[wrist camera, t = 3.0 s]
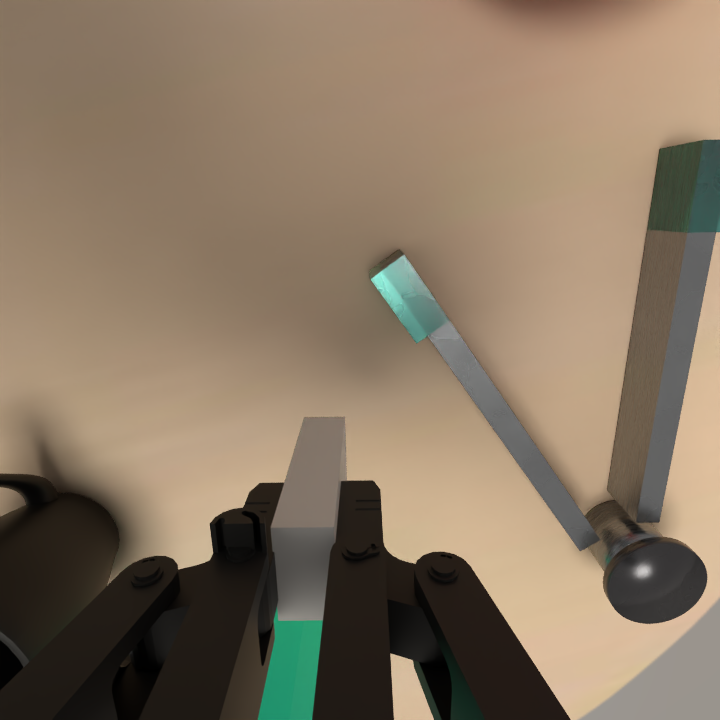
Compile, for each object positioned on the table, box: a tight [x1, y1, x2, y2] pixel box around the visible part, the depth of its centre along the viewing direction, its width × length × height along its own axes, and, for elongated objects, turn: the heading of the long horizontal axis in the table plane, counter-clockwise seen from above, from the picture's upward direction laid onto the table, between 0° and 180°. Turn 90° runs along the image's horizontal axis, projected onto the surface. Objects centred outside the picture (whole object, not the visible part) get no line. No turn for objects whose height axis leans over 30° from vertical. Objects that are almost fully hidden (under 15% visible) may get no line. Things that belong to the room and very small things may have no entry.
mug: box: [0, 474, 119, 690], centre depth 23 cm, size 8×12×10 cm
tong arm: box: [369, 249, 600, 551], centre depth 24 cm, size 18×2×3 cm, turn 36°
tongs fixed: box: [585, 140, 720, 624], centre depth 23 cm, size 23×5×5 cm, turn 1°
